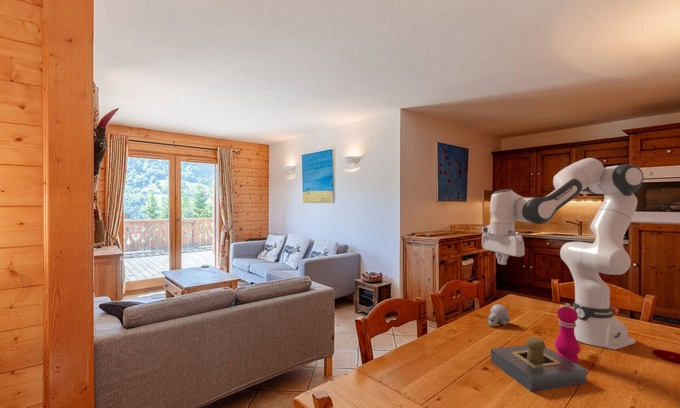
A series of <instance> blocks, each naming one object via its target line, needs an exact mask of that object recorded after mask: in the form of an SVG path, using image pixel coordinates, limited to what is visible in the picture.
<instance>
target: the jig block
mask: <svg viewBox="0 0 680 408" xmlns="http://www.w3.org/2000/svg"><path fill="white" fill-rule="evenodd" d="M527 353H528V346H527V344H525V345H524V344H523V345H515V346H514V345H513V346H506V347H497V348H490V363H491V364H493V365H494V366H495V367H497V368H499V369H500V370H501V371H502V372H504V373H505V374H506V375H508V376H509V377H511V379H513V380H515V381H516V382H517V383H518V384H520V385H521V386H523V387H524V388H525V389H526V390H528V391H529V392H530V393H532V392H533V393H534V392H539V391H545V390H546V391H547V390H552V389H559V388H560V389H561V388H566V387H573V386H580V385H585V384H587V372H588V371H587V368H585V367H583V366H582V365H580V364H578V363H574V362H572V361H571V360H569V359H567V358H565V357H563V356H561V355H559V354H558V353H557V351H554V350H552V349H550V348H548V347H547V346H545V349H544V350H543V355H544V362H545V364H538V365H535V364H533V363H531V362H530V361H528V360H527Z"/></svg>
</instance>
